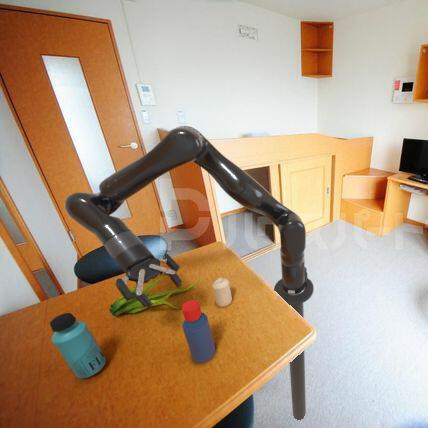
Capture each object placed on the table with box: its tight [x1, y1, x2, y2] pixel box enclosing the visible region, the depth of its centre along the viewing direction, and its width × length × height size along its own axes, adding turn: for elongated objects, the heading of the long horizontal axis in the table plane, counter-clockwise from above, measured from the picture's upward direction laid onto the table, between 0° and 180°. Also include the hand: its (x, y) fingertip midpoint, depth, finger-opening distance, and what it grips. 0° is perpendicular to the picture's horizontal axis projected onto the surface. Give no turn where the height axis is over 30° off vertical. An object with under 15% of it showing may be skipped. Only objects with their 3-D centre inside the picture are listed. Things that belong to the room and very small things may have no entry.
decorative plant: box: [108, 255, 210, 317], centre depth 86 cm, size 18×30×15 cm, turn 94°
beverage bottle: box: [49, 312, 107, 379], centre depth 61 cm, size 6×7×20 cm
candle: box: [211, 277, 233, 308], centre depth 87 cm, size 6×6×10 cm
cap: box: [181, 299, 202, 322], centre depth 63 cm, size 4×4×4 cm
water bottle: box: [181, 311, 216, 364], centre depth 66 cm, size 6×6×18 cm
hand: (166, 295), depth 67 cm, fingers open, 8 cm apart
